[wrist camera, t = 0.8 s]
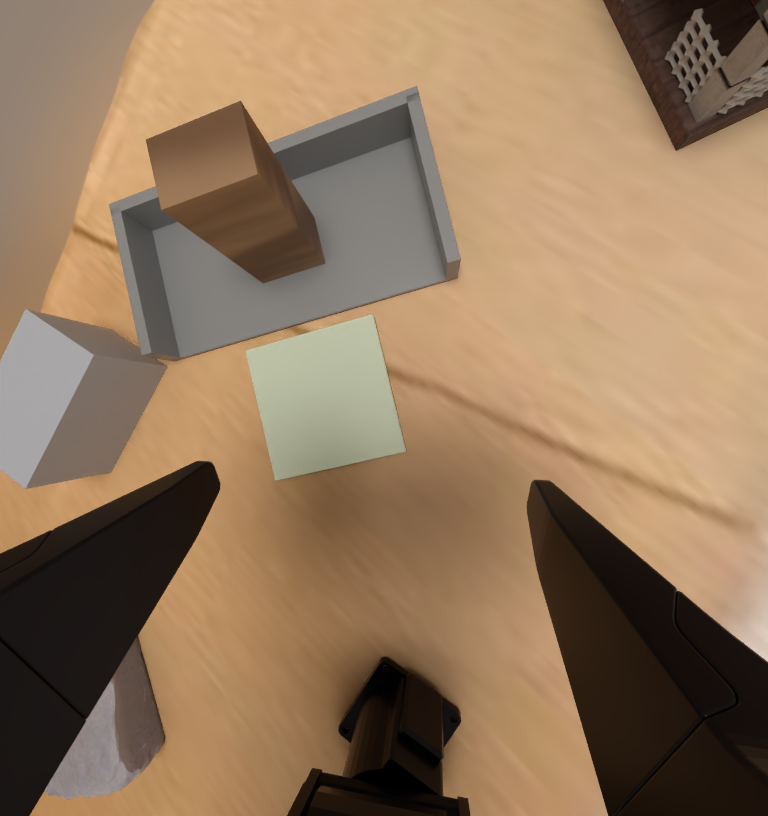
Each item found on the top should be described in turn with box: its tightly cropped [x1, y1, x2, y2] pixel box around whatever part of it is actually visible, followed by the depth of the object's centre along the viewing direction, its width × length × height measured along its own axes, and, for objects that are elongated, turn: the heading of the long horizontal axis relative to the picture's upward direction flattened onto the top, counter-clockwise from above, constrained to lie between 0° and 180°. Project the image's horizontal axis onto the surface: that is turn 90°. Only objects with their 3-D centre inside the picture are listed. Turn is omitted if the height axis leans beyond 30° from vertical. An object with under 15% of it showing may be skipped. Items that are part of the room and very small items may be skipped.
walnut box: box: [146, 101, 326, 283], centre depth 20 cm, size 4×5×10 cm
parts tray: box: [109, 86, 461, 361], centre depth 24 cm, size 11×23×3 cm, turn 104°
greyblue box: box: [0, 309, 167, 489], centre depth 25 cm, size 10×6×6 cm, turn 149°
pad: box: [246, 314, 406, 481], centre depth 25 cm, size 10×10×1 cm
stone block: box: [45, 637, 164, 799], centre depth 27 cm, size 12×5×10 cm
